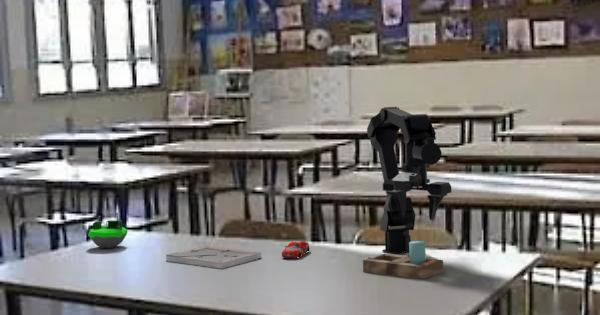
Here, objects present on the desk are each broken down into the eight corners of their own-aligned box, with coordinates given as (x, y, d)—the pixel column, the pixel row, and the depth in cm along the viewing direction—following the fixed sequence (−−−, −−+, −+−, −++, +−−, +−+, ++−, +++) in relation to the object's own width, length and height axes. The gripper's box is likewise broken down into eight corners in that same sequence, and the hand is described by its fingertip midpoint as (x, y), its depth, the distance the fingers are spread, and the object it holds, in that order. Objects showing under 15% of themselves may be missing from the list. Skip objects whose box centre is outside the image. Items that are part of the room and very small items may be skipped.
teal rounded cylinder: (406, 273, 242) (406, 243, 242) (415, 271, 245) (414, 240, 245) (420, 275, 240) (419, 244, 239) (428, 272, 243) (427, 241, 242)
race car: (297, 261, 265) (296, 247, 265) (279, 260, 267) (278, 246, 267) (312, 251, 277) (312, 238, 277) (295, 251, 279) (294, 237, 279)
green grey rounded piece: (131, 244, 300) (130, 209, 299) (121, 250, 288) (120, 214, 287) (95, 244, 301) (93, 210, 300) (82, 250, 289) (81, 215, 289)
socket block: (363, 271, 247) (362, 258, 247) (384, 264, 255) (384, 252, 255) (422, 278, 236) (422, 265, 236) (443, 271, 244) (442, 258, 243)
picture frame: (166, 263, 270) (221, 271, 257) (165, 254, 270) (221, 262, 257) (206, 253, 283) (261, 260, 270) (206, 244, 283) (261, 251, 269)
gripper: (370, 162, 255) (371, 219, 257) (429, 166, 243) (430, 226, 245) (393, 158, 264) (394, 213, 266) (452, 161, 252) (452, 219, 254)
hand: (416, 218), depth 257 cm, fingers open, 9 cm apart
